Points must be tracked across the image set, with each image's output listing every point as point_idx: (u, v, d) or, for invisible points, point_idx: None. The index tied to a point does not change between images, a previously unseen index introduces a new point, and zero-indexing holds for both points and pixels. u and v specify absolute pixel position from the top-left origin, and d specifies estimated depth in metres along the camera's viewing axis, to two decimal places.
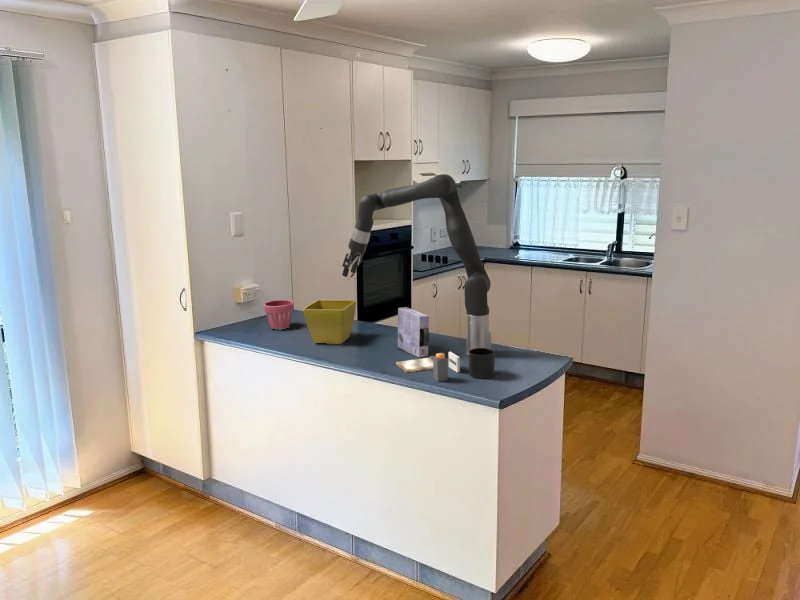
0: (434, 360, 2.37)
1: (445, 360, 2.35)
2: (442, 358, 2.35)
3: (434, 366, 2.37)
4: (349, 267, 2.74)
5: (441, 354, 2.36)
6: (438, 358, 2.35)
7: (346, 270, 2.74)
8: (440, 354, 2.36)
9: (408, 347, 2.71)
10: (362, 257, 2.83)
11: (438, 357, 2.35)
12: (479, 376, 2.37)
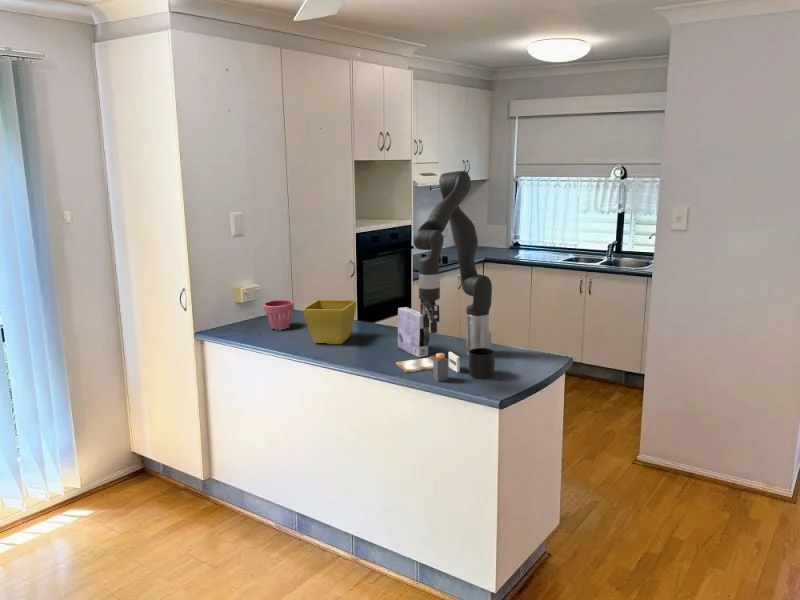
0: (434, 360, 2.37)
1: (445, 360, 2.35)
2: (442, 358, 2.35)
3: (434, 366, 2.37)
4: None
5: (441, 354, 2.36)
6: (438, 358, 2.35)
7: (436, 325, 2.29)
8: (440, 354, 2.36)
9: (408, 347, 2.71)
10: None
11: (438, 357, 2.35)
12: (479, 376, 2.37)
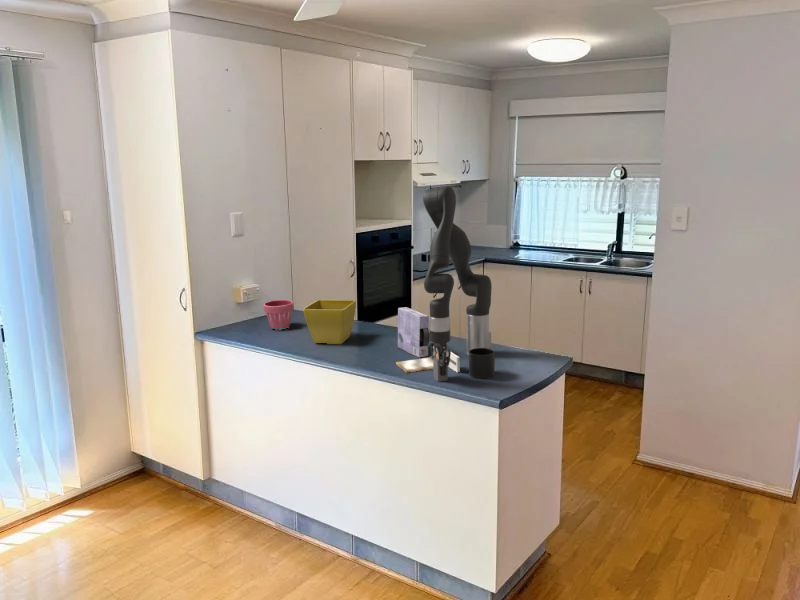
0: (434, 360, 2.37)
1: None
2: None
3: (434, 366, 2.37)
4: None
5: None
6: None
7: (445, 368, 2.34)
8: None
9: (408, 347, 2.71)
10: None
11: None
12: (479, 376, 2.37)
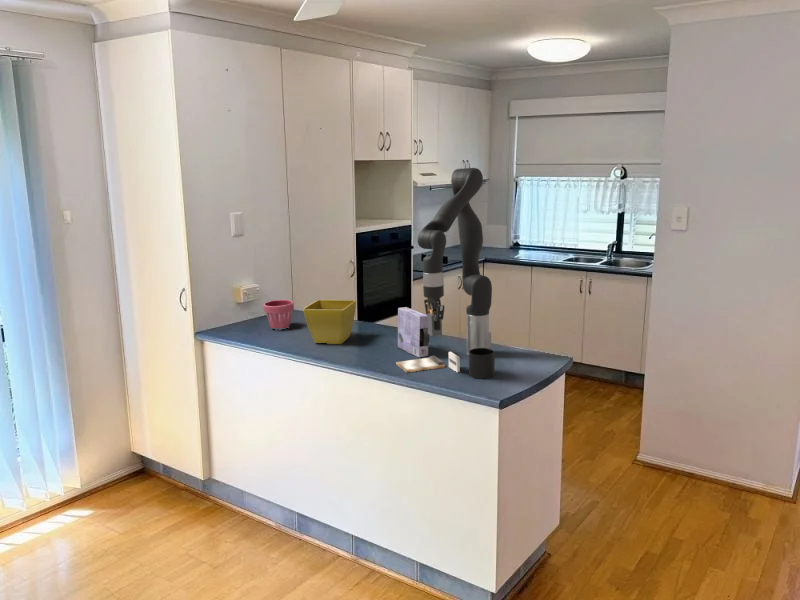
0: (428, 315, 2.43)
1: None
2: None
3: (428, 321, 2.43)
4: None
5: None
6: None
7: (439, 322, 2.40)
8: None
9: (408, 347, 2.71)
10: None
11: None
12: (479, 376, 2.37)
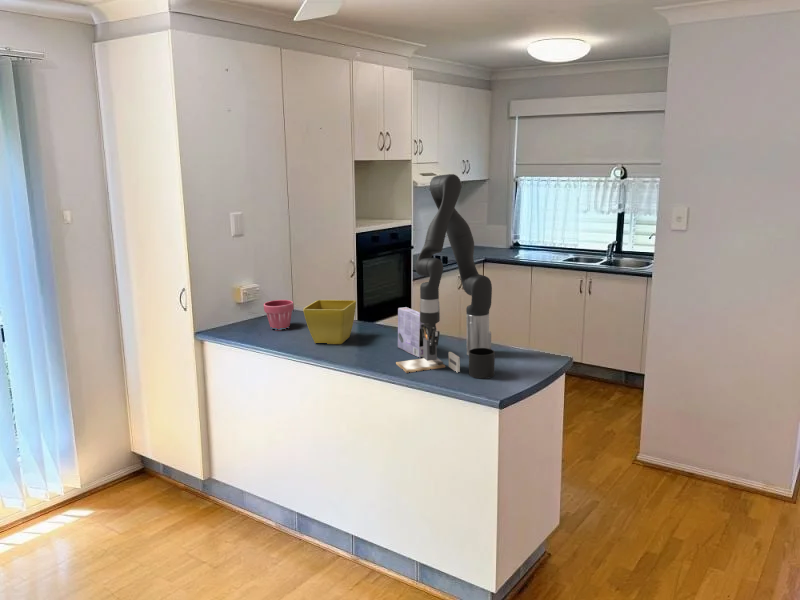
0: (424, 340, 2.50)
1: None
2: None
3: (424, 346, 2.50)
4: None
5: None
6: None
7: (434, 347, 2.47)
8: None
9: (408, 347, 2.71)
10: None
11: None
12: (479, 376, 2.37)
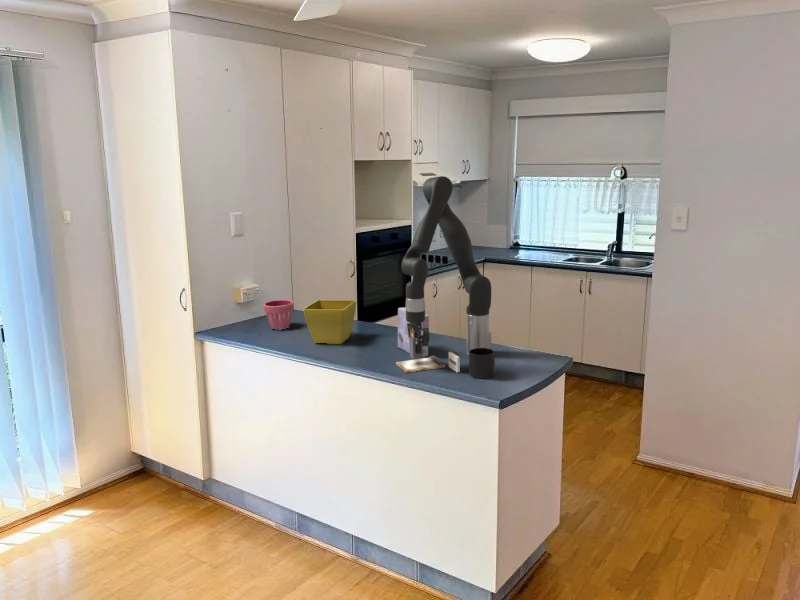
0: (410, 339, 2.53)
1: None
2: None
3: (410, 345, 2.54)
4: None
5: None
6: None
7: (420, 346, 2.50)
8: None
9: (408, 347, 2.71)
10: None
11: None
12: (479, 376, 2.37)
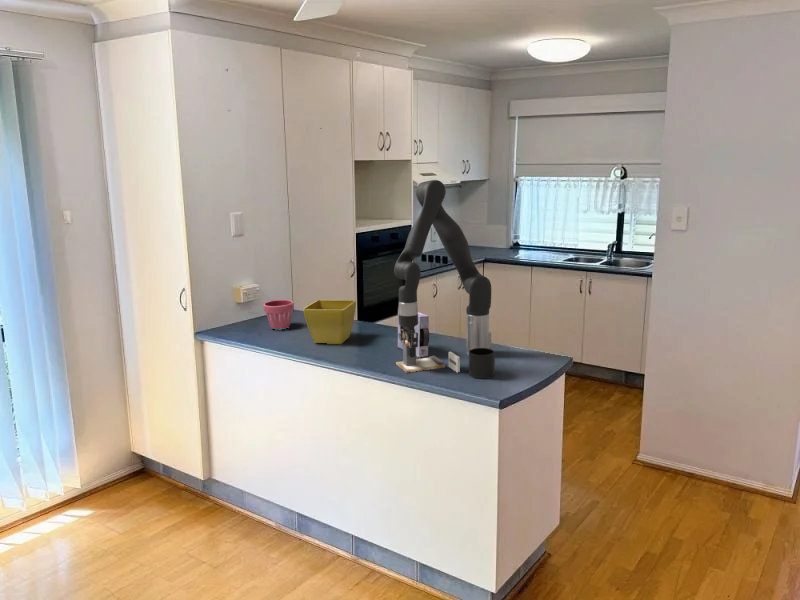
0: (403, 346, 2.52)
1: None
2: None
3: (403, 351, 2.53)
4: None
5: None
6: (407, 344, 2.51)
7: (414, 350, 2.49)
8: None
9: None
10: None
11: (407, 343, 2.51)
12: (479, 376, 2.37)
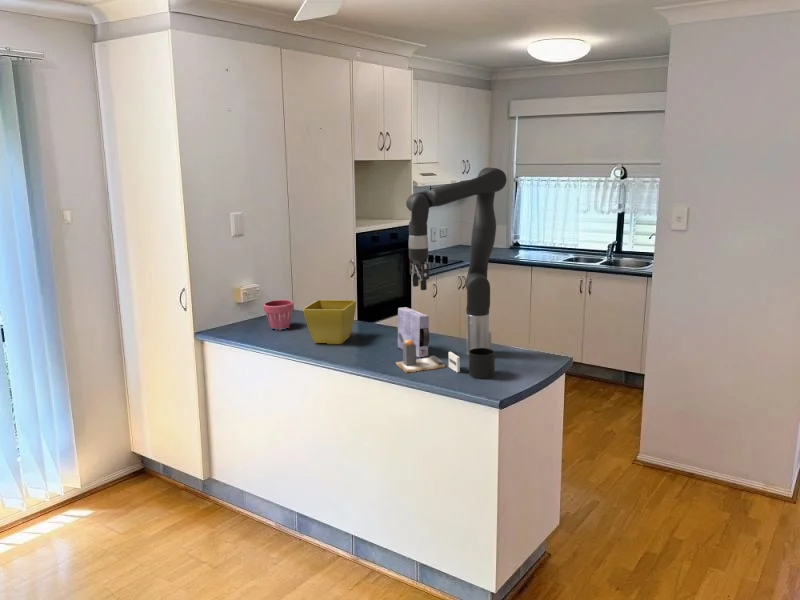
0: (403, 346, 2.52)
1: (413, 346, 2.51)
2: (411, 344, 2.51)
3: (403, 351, 2.53)
4: None
5: (410, 340, 2.52)
6: (407, 344, 2.51)
7: (425, 282, 2.47)
8: (409, 340, 2.52)
9: None
10: None
11: (407, 343, 2.51)
12: (479, 376, 2.37)
